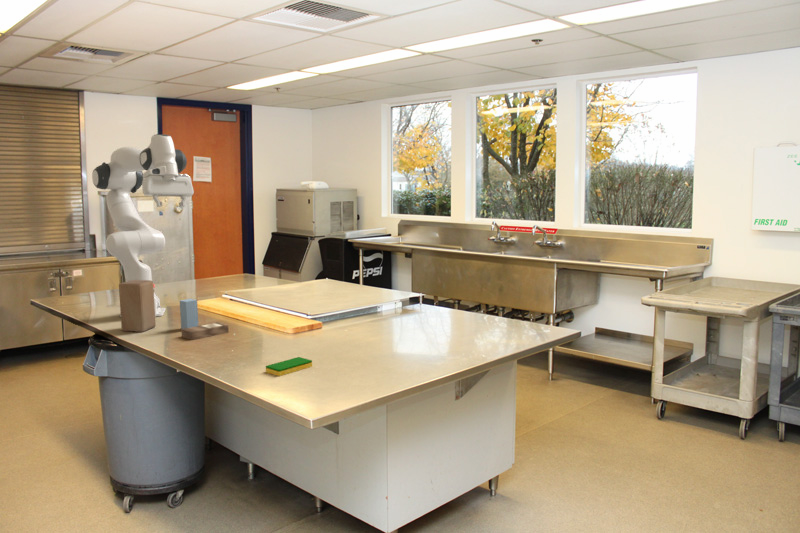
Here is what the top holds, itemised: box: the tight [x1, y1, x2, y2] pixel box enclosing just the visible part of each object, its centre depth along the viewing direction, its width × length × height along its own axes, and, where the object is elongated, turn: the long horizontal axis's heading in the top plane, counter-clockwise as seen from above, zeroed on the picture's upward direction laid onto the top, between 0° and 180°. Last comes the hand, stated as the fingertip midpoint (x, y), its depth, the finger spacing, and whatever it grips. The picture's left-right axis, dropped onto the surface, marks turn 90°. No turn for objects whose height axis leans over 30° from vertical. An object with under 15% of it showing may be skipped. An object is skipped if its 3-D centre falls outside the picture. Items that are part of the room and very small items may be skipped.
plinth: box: [180, 321, 229, 341], centre depth 255 cm, size 16×8×3 cm, turn 138°
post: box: [179, 298, 199, 330], centre depth 264 cm, size 5×5×12 cm
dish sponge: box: [265, 356, 313, 377], centre depth 207 cm, size 7×14×2 cm, turn 139°
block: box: [118, 280, 157, 333], centre depth 264 cm, size 10×10×20 cm
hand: (170, 206), depth 257 cm, fingers open, 8 cm apart
